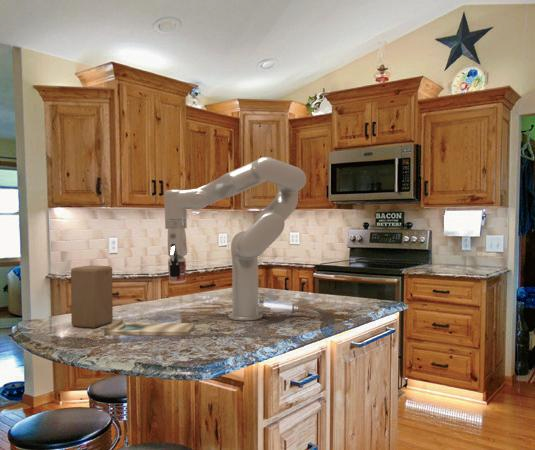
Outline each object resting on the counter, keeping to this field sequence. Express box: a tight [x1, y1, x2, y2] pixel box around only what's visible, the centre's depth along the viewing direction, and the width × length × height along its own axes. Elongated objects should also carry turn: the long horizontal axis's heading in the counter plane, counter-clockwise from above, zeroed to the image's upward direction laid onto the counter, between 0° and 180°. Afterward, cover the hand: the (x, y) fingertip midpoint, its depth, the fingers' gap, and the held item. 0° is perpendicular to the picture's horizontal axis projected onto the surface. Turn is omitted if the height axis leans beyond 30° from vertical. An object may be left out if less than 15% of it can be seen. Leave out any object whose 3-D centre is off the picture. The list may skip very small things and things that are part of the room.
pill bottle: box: [167, 255, 187, 284], centre depth 162 cm, size 6×6×11 cm
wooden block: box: [70, 265, 114, 329], centre depth 157 cm, size 10×10×20 cm
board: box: [103, 319, 196, 337], centre depth 148 cm, size 26×12×2 cm, turn 88°
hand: (177, 274), depth 162 cm, fingers closed on pill bottle, 6 cm apart
